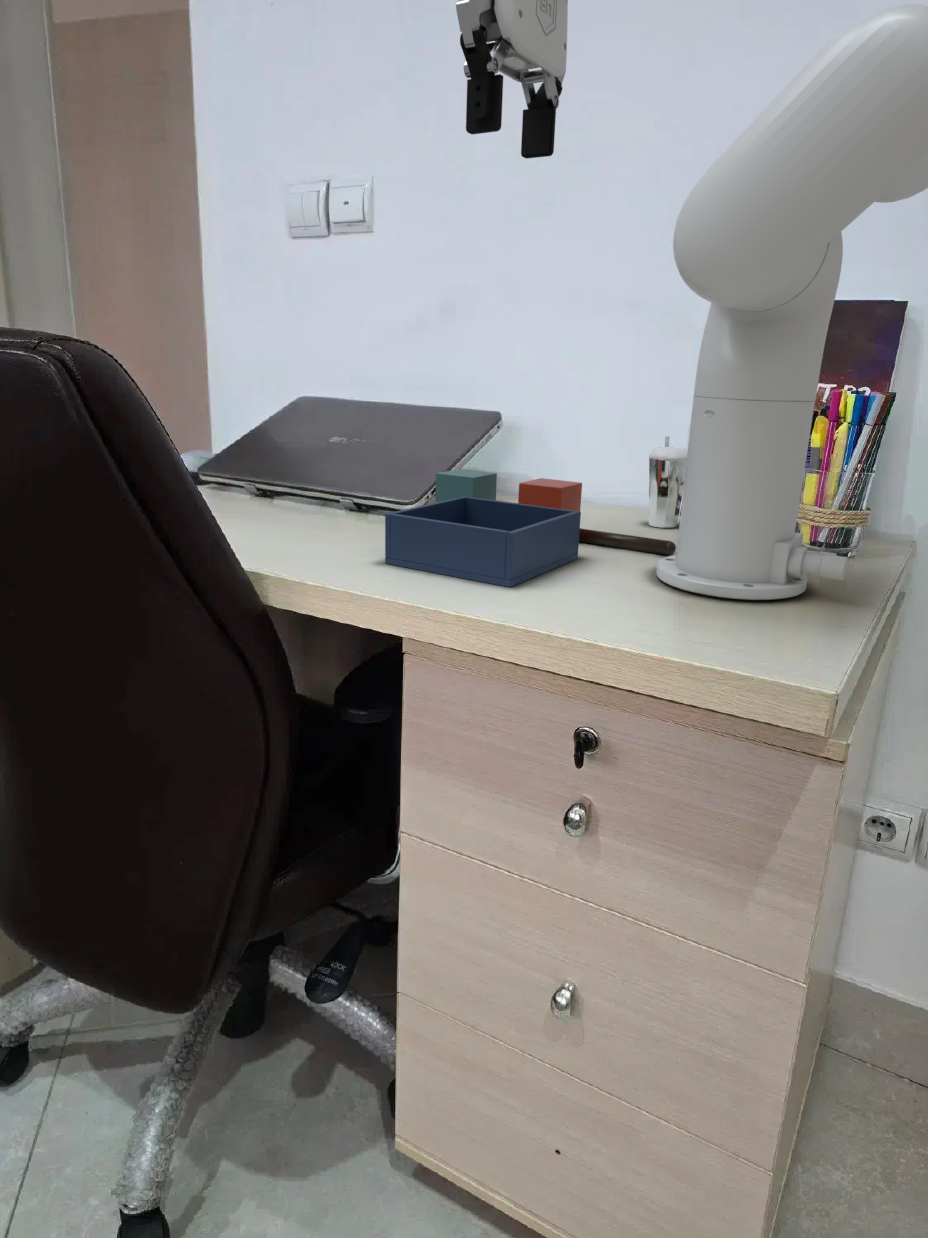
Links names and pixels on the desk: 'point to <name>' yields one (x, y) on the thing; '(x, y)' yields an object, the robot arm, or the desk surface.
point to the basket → (482, 539)
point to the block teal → (465, 484)
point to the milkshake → (666, 484)
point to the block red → (551, 493)
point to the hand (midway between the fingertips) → (511, 144)
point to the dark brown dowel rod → (627, 541)
